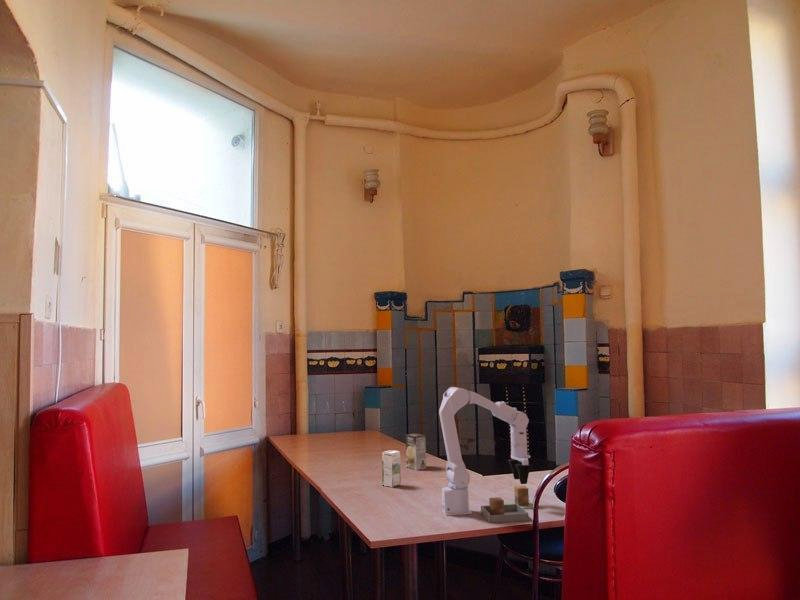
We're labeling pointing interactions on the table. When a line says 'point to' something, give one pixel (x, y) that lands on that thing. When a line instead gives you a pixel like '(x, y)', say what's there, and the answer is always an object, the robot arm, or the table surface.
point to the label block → (521, 495)
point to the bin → (506, 514)
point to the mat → (523, 506)
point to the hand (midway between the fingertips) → (520, 481)
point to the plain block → (496, 506)
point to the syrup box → (391, 468)
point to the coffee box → (415, 451)
